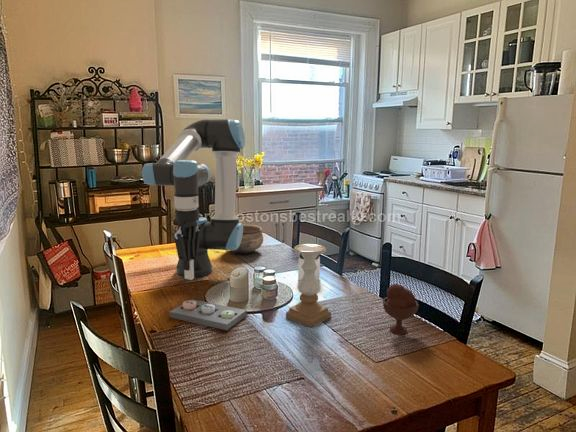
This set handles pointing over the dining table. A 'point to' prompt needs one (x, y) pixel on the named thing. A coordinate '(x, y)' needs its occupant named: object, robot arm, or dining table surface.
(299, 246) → the candle holder
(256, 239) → the cooking pot
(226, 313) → the button one
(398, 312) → the ice cream bowl
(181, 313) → the keypad board
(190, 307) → the button two
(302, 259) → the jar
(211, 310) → the button three
